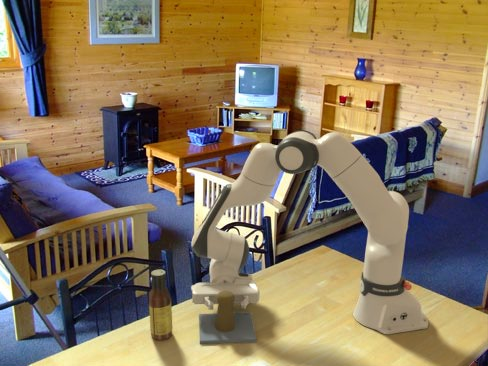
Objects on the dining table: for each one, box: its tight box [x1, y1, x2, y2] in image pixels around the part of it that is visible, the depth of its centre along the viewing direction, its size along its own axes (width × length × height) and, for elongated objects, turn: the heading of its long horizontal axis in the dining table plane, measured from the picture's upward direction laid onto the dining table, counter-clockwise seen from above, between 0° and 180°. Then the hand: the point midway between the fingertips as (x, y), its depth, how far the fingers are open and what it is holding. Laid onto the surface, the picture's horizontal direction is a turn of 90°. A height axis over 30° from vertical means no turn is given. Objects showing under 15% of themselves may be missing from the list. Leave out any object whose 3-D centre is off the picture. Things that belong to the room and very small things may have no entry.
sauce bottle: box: [148, 269, 173, 341], centre depth 150 cm, size 7×6×20 cm
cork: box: [215, 291, 235, 332], centre depth 155 cm, size 6×6×11 cm
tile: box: [198, 312, 257, 345], centre depth 157 cm, size 16×14×1 cm
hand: (227, 307), depth 154 cm, fingers open, 8 cm apart
